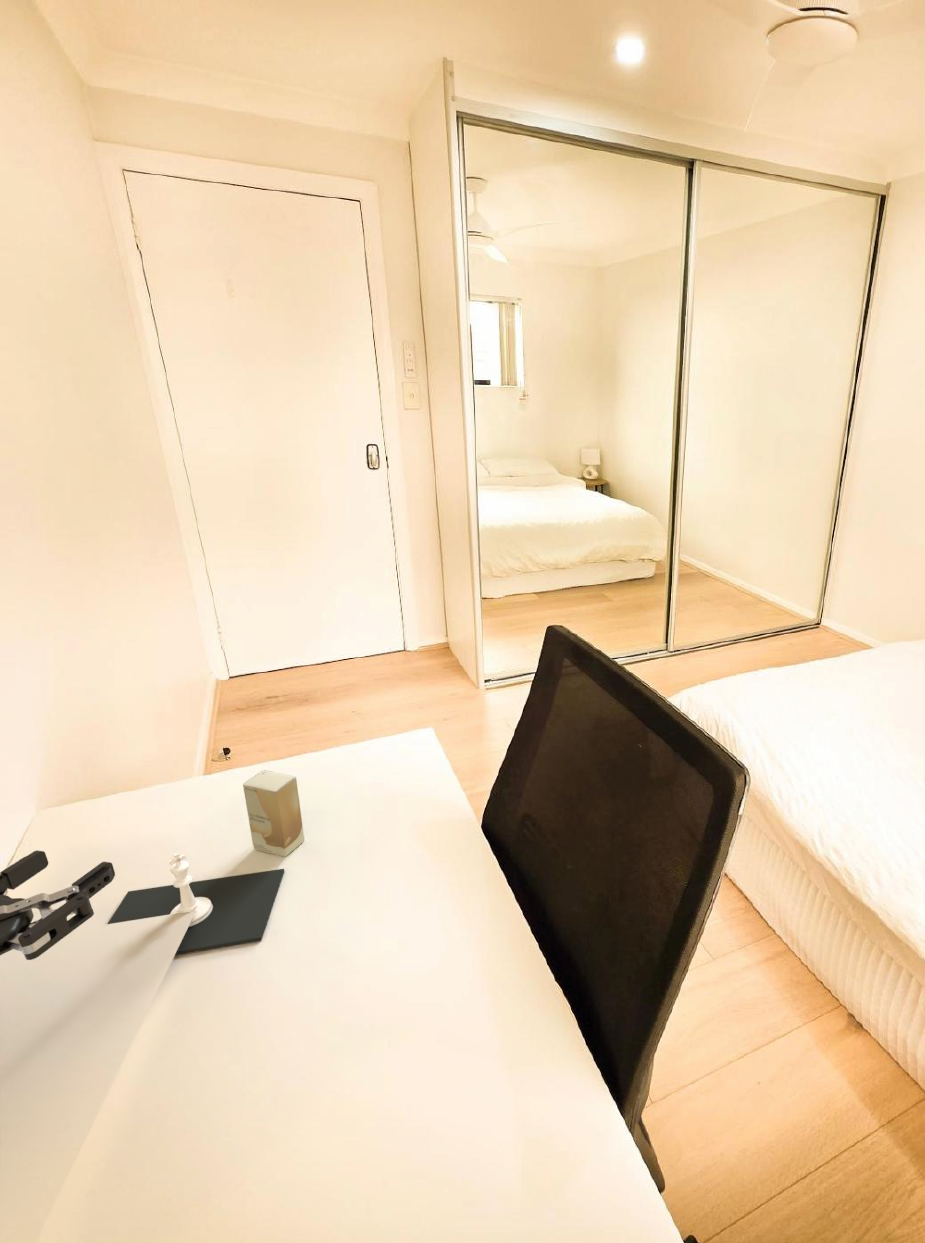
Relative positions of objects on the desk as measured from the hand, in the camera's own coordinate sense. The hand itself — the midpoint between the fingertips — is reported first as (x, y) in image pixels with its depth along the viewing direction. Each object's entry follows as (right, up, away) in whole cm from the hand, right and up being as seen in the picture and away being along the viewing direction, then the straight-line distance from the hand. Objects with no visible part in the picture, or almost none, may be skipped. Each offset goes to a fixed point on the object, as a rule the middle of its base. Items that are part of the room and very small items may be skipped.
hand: (77, 862), depth 67 cm
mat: (+1, -14, +16) cm, 21 cm away
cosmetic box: (+5, -9, +30) cm, 32 cm away
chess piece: (+1, -14, +16) cm, 21 cm away
